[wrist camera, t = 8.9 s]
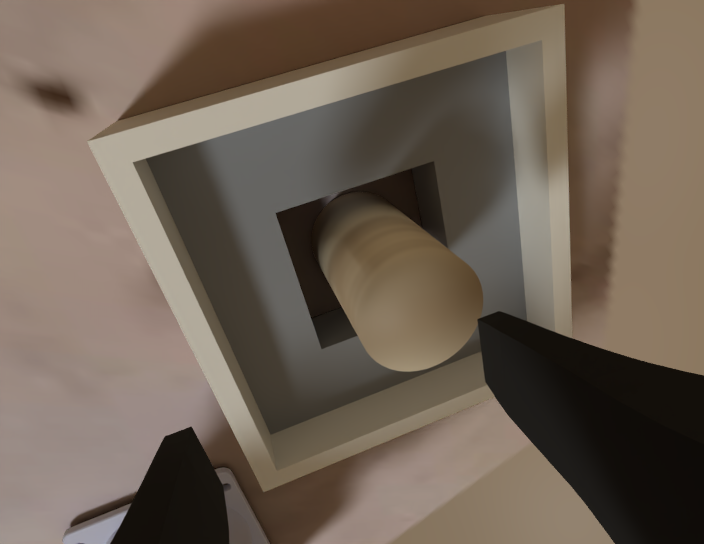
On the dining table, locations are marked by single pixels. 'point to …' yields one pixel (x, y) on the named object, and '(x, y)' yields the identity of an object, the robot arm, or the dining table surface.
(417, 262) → the peg
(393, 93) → the box
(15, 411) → the dining table surface
